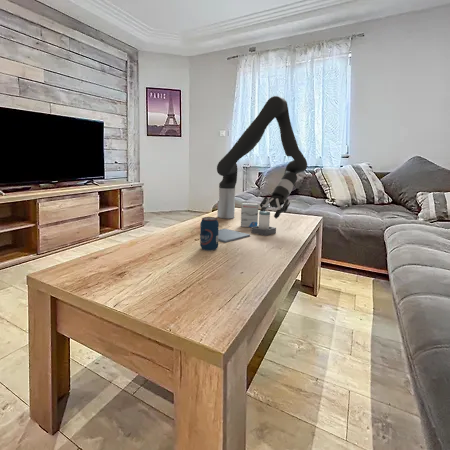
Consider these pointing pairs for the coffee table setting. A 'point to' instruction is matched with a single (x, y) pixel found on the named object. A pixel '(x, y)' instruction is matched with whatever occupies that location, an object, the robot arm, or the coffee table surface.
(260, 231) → the sleeve
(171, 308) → the coffee table surface
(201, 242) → the soda can
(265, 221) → the ball
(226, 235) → the slate board
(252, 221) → the ink box
